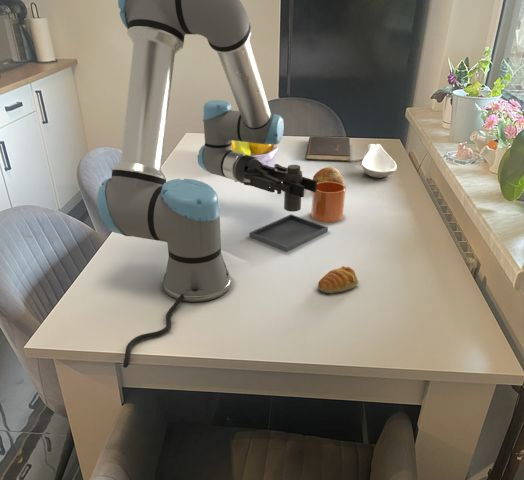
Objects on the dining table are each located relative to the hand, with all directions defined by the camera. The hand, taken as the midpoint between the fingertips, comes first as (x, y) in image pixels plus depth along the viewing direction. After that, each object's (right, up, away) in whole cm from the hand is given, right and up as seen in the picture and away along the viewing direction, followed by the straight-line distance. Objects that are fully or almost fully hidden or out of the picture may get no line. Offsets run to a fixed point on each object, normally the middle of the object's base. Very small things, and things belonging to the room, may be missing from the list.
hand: (309, 189), depth 137 cm
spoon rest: (+28, +23, +55) cm, 65 cm away
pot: (+7, -2, +21) cm, 22 cm away
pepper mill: (-4, -3, +7) cm, 8 cm away
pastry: (+6, -26, -11) cm, 29 cm away
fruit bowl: (-19, +28, +62) cm, 71 cm away
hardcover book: (+13, +36, +72) cm, 81 cm away
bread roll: (+9, +13, +41) cm, 44 cm away
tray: (-5, -10, +11) cm, 15 cm away
